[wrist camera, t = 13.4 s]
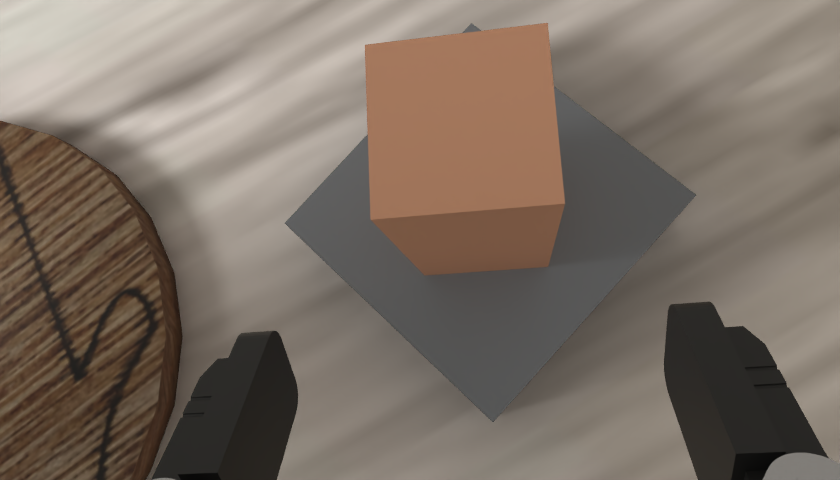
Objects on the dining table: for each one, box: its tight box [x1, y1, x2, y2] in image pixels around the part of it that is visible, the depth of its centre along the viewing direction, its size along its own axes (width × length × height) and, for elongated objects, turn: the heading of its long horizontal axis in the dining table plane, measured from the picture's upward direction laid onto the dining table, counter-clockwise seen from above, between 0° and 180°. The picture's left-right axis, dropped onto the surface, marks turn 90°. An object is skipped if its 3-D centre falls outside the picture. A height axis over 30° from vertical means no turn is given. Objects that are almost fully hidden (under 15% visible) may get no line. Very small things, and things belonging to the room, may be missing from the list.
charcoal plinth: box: [285, 23, 696, 422], centre depth 29 cm, size 12×12×4 cm
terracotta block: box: [365, 23, 565, 275], centre depth 22 cm, size 5×5×10 cm
